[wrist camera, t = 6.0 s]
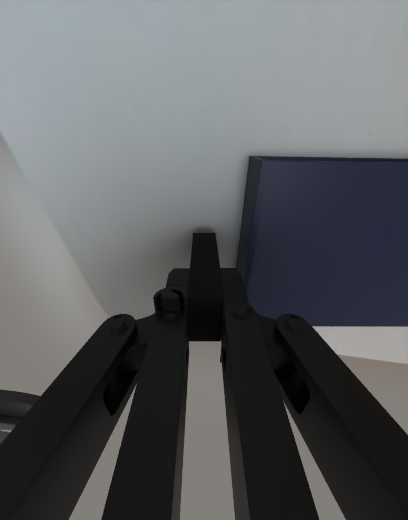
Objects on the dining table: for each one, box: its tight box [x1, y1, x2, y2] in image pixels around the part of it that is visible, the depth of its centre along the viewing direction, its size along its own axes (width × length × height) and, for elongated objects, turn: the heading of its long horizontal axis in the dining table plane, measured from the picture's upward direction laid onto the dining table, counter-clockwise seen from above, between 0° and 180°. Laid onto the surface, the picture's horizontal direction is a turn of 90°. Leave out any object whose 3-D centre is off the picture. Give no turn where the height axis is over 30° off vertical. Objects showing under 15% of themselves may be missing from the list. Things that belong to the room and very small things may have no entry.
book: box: [236, 156, 408, 326], centre depth 15 cm, size 16×12×3 cm
